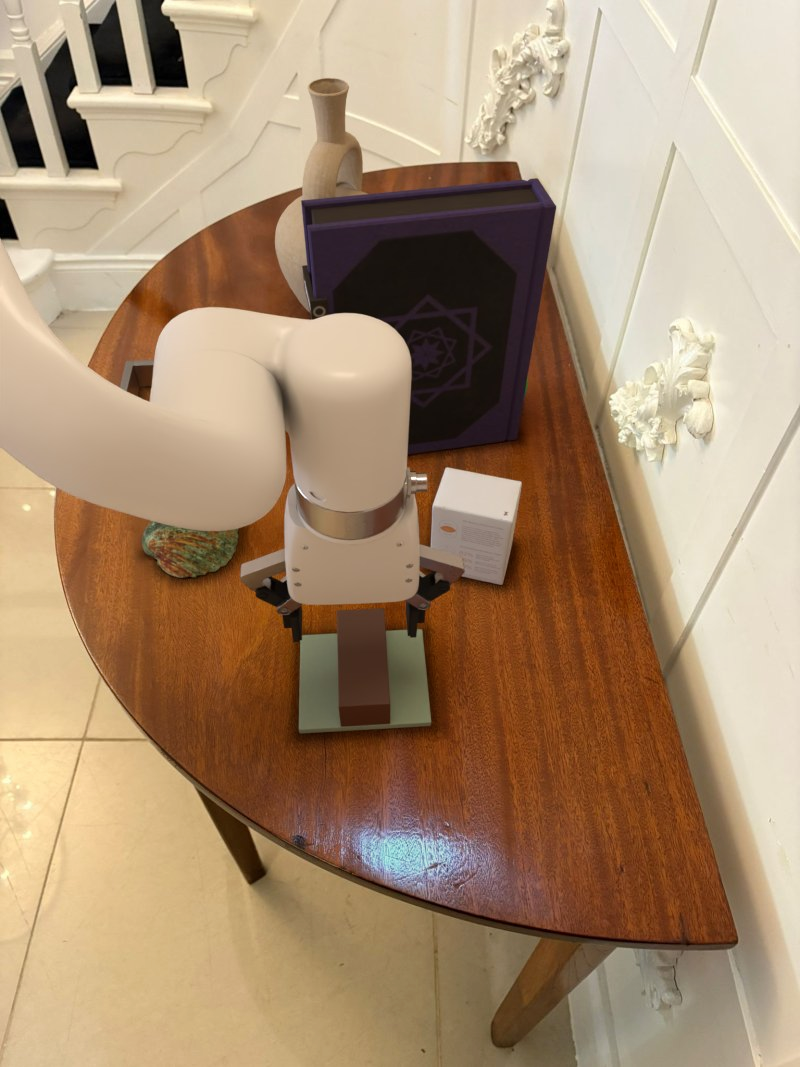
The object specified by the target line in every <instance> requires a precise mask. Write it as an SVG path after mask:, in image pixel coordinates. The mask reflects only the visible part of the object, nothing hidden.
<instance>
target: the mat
mask: <svg viewBox="0 0 800 1067" xmlns="http://www.w3.org/2000/svg"><path fill="white" fill-rule="evenodd" d="M299 643H300V645H299V646H300V648H299V649H300V650H299V652H300V653H299V694H298V695H299V698H298V699H299V700H298V702H299V703H298V732H299V734H314V733H315V734H316V733H331V732H351V731H364V730H365V731H367V730H382V729H399V728H400V729H401V728H419V727H431V726H432V715H431V705H430V696H429V695H430V694H429V684H428V675H427V664H426V656H425V655H426V653H425V645H424V633H423V629H422V628H417V635H416V637H413V638H410V636H408V633H407V629H397V630H386V643H387V658H388V674H389V690H390V724H379V725H362V726H345V727H341V724H340V716H339V707H338V651H337V632H336V633H320V634H319V633H318V634H302V640H300V642H299Z"/></svg>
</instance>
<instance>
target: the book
mask: <svg viewBox="0 0 800 1067" xmlns="http://www.w3.org/2000/svg"><path fill="white" fill-rule="evenodd" d="M301 205H302V215H303V226H304V236H305V247H306V257H307V265H304V266H302V269H303V279H304V288H305V292H306V297H307V301H308V306H309V310H310V313H309V315H310V318H311V319H310V320H314V319H317V318H320V317H323V316H326V315H331V314H338V313H355V314H363V315H367V316H371V317H373V318H376V319H379V320H381V321H383V322H385V323H387V324H389V325H390V326H391V327H393V328H394V329H395V330H396V331H397V332H398V333H399V334H400V335H401V337H402V338H403V339H404V341H405V343H406V345H407V347H408V349H409V352H410V356H411V371H412V377H411V396H410V415H409V433H408V452H407V456H408V455H416V454H422V453H423V454H424V453H430V452H437V451H445V450H452V449H458V448H459V449H460V448H465V447H473V446H474V447H475V446H480V445H487V444H494V443H495V444H496V443H501V442H505V441H515V440H518V436H519V435H518V434H519V430H520V423H521V417H522V411H523V406H524V400H525V397H524V394H525V389H526V383H527V377H528V378H529V371H530V364H531V359H532V353H533V347H534V340H535V336H536V330H537V323H538V317H539V313H540V312H539V311H540V306H541V300H542V295H543V287H544V282H545V278H546V277H545V276H546V271H547V265H548V258H549V253H550V248H551V241H552V235H553V229H554V224H555V218H556V212H557V205H556V203H555V202H554V200H553V199H552V197H551V196H550V195H549V193H548V191H547V190H546V188H545V187H544V185H543V184H542V182H541V181H540V179H539V178H537V177H536V178H529V179H528V180H525V179H512V180H502V181H494V182H493V181H492V182H482V183H481V182H480V183H471V184H462V185H461V184H460V185H450V186H449V185H448V186H441V187H440V186H439V187H430V188H429V187H428V188H418V189H408V190H397V191H386V192H385V191H384V192H376V193H367V194H364V195H353V196H343V197H332V198H321V199H311V200H301Z"/></svg>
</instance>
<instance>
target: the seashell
mask: <svg viewBox="0 0 800 1067" xmlns="http://www.w3.org/2000/svg"><path fill="white" fill-rule="evenodd" d="M238 533H239V528H238V529H232V530H226V531H200V530H192V529H184V528H180V527H175V526H170V525H165V524H162V523H158V522H154V521H150V522H149V523H148V525H146V527H145V529H144V531H143V533H142V536H141V547H142V550H143V552H144V553H145V554H146V555H148V556H149V557H151V558H153V559H155V560H157V562H156V565H157V566H158V567H160V568H161V570H162V571H163V572H165V573H166V574H168V575H170V576H171V577H172V576H173V577H176V578H180V579H184V578H189V577H191V578H197V577H198V576H205V575H207V573H214V572H216V571H218V570H220V568H221V567H225V566H227V565H228V563H229V561H230V560H232V558H233V556H234V554H235V553H236V551H237V546H238V539H239V537H240V536H239V534H238Z"/></svg>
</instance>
